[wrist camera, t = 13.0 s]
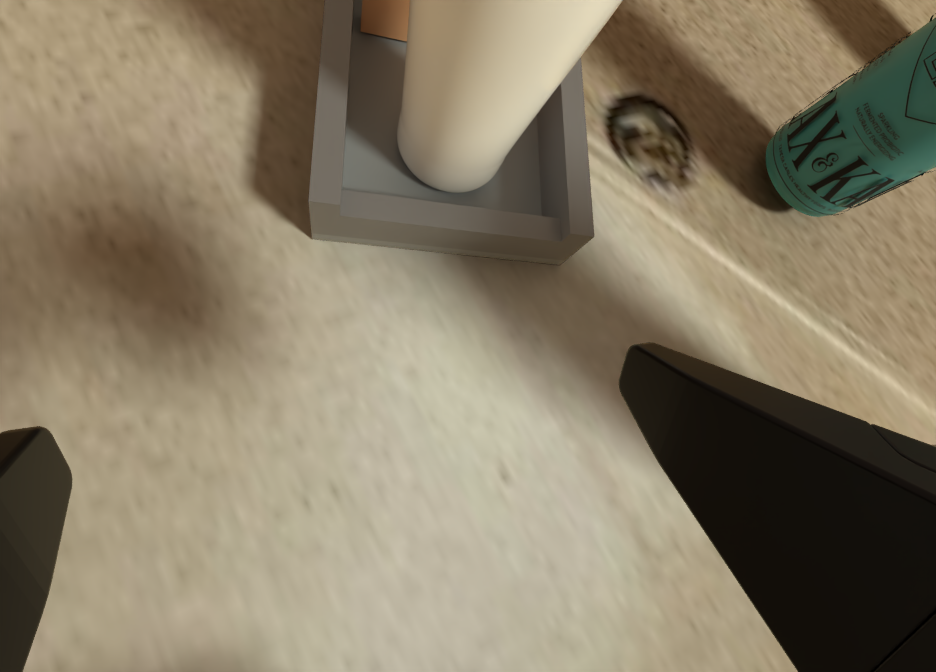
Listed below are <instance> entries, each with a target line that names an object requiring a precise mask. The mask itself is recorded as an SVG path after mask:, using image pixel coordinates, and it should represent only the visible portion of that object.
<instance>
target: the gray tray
mask: <svg viewBox="0 0 936 672" xmlns="http://www.w3.org/2000/svg"><path fill="white" fill-rule="evenodd" d="M361 13H362V0H325V4H324V16H323V28H322V41H321V53H320V65H319V77H318V90H317V102H316V114H315V127H314V139H313V151H312V163H311V176H310V188H309V200H308V202H309V212H310V223H311V234H312V239H317V240H326V241H336V242H345V243H355V244H364V245H374V246H384V247H393V248H403V249H412V250H422V251H431V252H441V253H450V254H460V255H469V256H479V257H488V258H498V259H507V260H517V261H526V262H536V263H545V264H555V265H561V264H562V263H563V262H564V261H566V260H567V259H568V258H569V257H570V256H572V255H573V254H574V253H575V252H576V251H578V250H579V249H580V248H581V247H582V246H584V245H585V244H586V243H587V242H588V241H590V240H591V239H592V238H593V237H594V226H593V212H592V199H591V186H590V172H589V159H588V146H587V132H586V119H585V106H584V92H583V79H582V66H581V57H580V59H579V60H578V61H577V62H576V64H575V65H574V66H573V68H572V69H571V70H570V72H569V73H568V74H567V76H566V77H565V78H564V80H563V81H562V82H561V83H560V85H559V86H558V87H557V89H556V90H555V91H554V93H553V94H552V95H551V97H550V98H549V99H548V101H547V102H546V103H545V105H544V106H543V107H542V109H541V110H540V111H539V113H538V114H537V115H536V117H535V118H534V119H533V121H532V122H531V123H530V125H529V126H528V127H527V128H526V130H525V131H524V133H523V134H522V135H521V137H520V138H519V139H518V141H517V142H516V143H515V145H514V146H513V147H512V149H511V150H510V152H509V153H508V154H507V156H506V158H505V159H504V161H503V163H502V164H501V166H500V168H499V170H498V171H497V173H496V174H495V175H494V177H493V178H492V179H491V180H490V181H489V182H488V183H486V184H485V185H483V186H482V187H480V188H478V189H476V190H473V191H469V192H464V193H450V192H444V191H440V190H437V189H435V188H432V187H430V186H428V185H427V184H425V183H423V182H422V181H421V180H419V179H418V178H417V177H416V176H415V175H414V174H413V173H412V172H411V171H410V170H409V168H408V167H407V166H406V164H405V162H404V161H403V159H402V157H401V154H400V151H399V148H398V143H397V127H398V121H399V115H400V110H401V104H402V93H403V81H404V69H405V56H406V43H407V42H406V41H402V40H397V39H392V38H388V37H383V36H379V35H374V34H369V33H365V32H360V30H361Z"/></svg>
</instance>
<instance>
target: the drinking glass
mask: <svg viewBox="0 0 936 672" xmlns="http://www.w3.org/2000/svg"><path fill="white" fill-rule="evenodd" d="M622 1H623V0H410V2H409V16H408V30H407V43H406V56H405V69H404V81H403V93H402V104H401V110H400V115H399V121H398V127H397V143H398V148H399V151H400V154H401V157H402V159H403V161H404V162H405V164H406V166H407V167H408V168H409V170H410V171H411V172H412V173H413V174H414V175H415V176H416V177H417V178H418V179H419V180H421V181H422V182H423V183H425V184H427V185H428V186H430V187H432V188H435V189H437V190H440V191H444V192H450V193H464V192H469V191H473V190H476V189H478V188H480V187H482V186H483V185H485V184H486V183H488V182H489V181H490V180H491V179H492V178H493V177H494V175H495V174H496V173H497V171H498V170H499V168H500V166H501V164H502V163H503V161H504V159H505V158H506V156H507V154H508V153H509V152H510V150H511V149H512V147H513V146H514V145H515V143H516V142H517V141H518V139H519V138H520V137H521V135H522V134H523V133H524V131H525V130H526V128H527V127H528V126H529V125H530V123H531V122H532V121H533V119H534V118H535V117H536V115H537V114H538V113H539V111H540V110H541V109H542V107H543V106H544V105H545V103H546V102H547V101H548V99H549V98H550V97H551V95H552V94H553V93H554V91H555V90H556V89H557V87H558V86H559V85H560V83H561V82H562V81H563V80H564V78H565V77H566V76H567V74H568V73H569V72H570V70H571V69H572V68H573V66H574V65H575V64H576V62H577V61H578V60H579V59H580V57H581V56H582V55H583V53H584V52H585V51H586V49H587V48H588V47H589V45H590V44H591V43H592V42H593V40H594V39H595V38H596V36H597V35H598V34H599V32H600V31H601V30H602V28H603V27H604V26H605V24H606V23H607V22H608V20H609V19H610V18H611V16H612V15H613V13H614V12H615V11H616V9H617V8H618V6H619V5H620V4H621V2H622Z"/></svg>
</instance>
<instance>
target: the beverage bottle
mask: <svg viewBox="0 0 936 672" xmlns="http://www.w3.org/2000/svg"><path fill="white" fill-rule="evenodd" d="M935 14H936V13H935ZM933 16H934V15H933ZM933 16H932V17H933ZM932 17H931V19H930V22H929V23H927V24H926V25H925V26H923V27H922V28H920V29H919V30H918V31H916V32H915V33H913V34H912V35H911V36H908V38H907V36H906V39H905V40H904V41H902V42H901V41H899V40H898V41H899V42H898V43H899V44H898V45H897V46H894V45H895V44H896V43H894V45H893V46H894V48H891V47H890V48H891V50H890V51H888V52H887V50H888V48H887V49H886V50H885V52H884V55H883V56H881V55H878V56H877V57H879V58H876V60H875V61H874V62H873V61H871V62H873V63H871V62H868V63H870V65H869V66H867V67H866V68H864V69H862V71H860V72H859V73H858V72H857V73H856V74H854V73H853V75H855V76H853V75H851V76H853V77H852V78H850V79H849V80H848V81H846V82H845V83H843V84H842V85H841V86H839V87H838V88H836V87H835V86H834V87H835V88H836V89H835V88H834V87H833V88H834V89H835V90H834V91H833V90H831V89H832V88H831V89H830V90H831V91H830V92H828V91H827V92H828V93H829V94H828V93H827V92H826V93H827V94H828V95H827V96H825V95H824V94H823V95H824V96H825V97H824V98H823V99H821V100H820V101H818V102H817V103H816V104H814V105H813V106H811V107H810V108H808V109H807V110H806V111H804V112H803V113H799V112H798V113H799V114H800V115H799V116H797V117H795V116H796V115H794V117H795V118H794V117H793V118H792V120H791V119H790V120H791V121H790V122H789V123H788V124H786V123H787V121H786V122H784V123H785V124H786V125H785V124H784V125H783V127H782V128H781V129H780V130H779V131H778V130H777V131H778V132H776V134H775V135H774V136H773V137H772V139H771V140H770V142H769V144H768V146H767V149H766V167H767V171H768V174H769V177H770V179H771V182H772V183H773V185H774V187H775V189H776V190H777V192H778V193H779V194H780V196H781V197H782V198H783V199H784V200H785V201H786V202H787V203H788V204H789V205H790V206H792V207H793V208H795V209H796V210H798V211H800V212H802V213H804V214H807V215H810V216H816V217H820V216H827V215H832V214H835V213H838V212H840V211H842V210H844V209H846V208H852V207H851V206H853V205H855V204H857V203H859V202H860V203H861V201H864V200H866V199H868V198H869V199H868V200H867V201H865V202H863V203H861V204H859V205H858V204H857V205H856V206H854V207H857V206H860V205H862V204H864V203H866V202H868V201H870V200H872V199H874V198H876V197H878V196H881V195H883V194H885V193H887V192H889V191H891V190H894V189H896V188H898V187H900V186H902V185H904V184H907V183H909V182H911V181H909V180H911V179H913V178H916V177H918V176H920V175H921V176H922V175H923V174H924V173H926V171H928V170H930V169H932V168H934V167H936V18H934V19H933V20H932ZM908 34H909V33H908ZM906 35H907V34H906ZM902 38H905V37H902ZM902 38H901V40H902ZM896 42H897V41H896ZM900 42H901V43H900ZM893 46H892V47H893ZM882 53H883V52H882ZM882 53H880V54H882ZM874 59H875V58H874ZM872 60H873V59H872ZM866 64H867V63H866ZM864 67H865V66H864ZM861 68H862V67H861ZM861 68H859V70H860V69H861ZM859 70H856V71H859ZM856 71H855V72H856ZM851 76H849V77H851ZM849 77H848V78H849ZM846 79H847V78H846ZM846 79H845V80H846ZM841 82H843V81H841ZM838 84H839V83H838ZM838 84H837V85H838ZM820 97H821V96H820ZM820 97H819V98H820ZM821 98H822V97H821ZM816 100H817V99H816ZM816 100H815V101H816ZM813 102H814V101H813ZM813 102H812V103H813ZM809 105H810V104H809ZM809 105H808V106H809ZM805 108H806V107H805ZM802 110H803V109H802ZM802 110H801V111H802ZM798 113H797V115H798ZM779 128H780V127H779ZM779 128H778V129H779ZM930 172H933V171H930ZM927 173H929V172H927ZM913 181H914V180H913ZM905 182H906V183H905ZM903 183H904V184H903ZM900 184H902V185H900ZM898 185H900V186H898ZM896 186H897V187H896ZM894 187H895V188H894ZM892 188H893V189H892ZM890 189H891V190H890ZM887 190H889V191H887ZM885 191H887V192H885ZM883 192H885V193H883ZM881 193H882V194H881ZM879 194H880V195H879ZM877 195H878V196H877ZM874 196H876V197H874ZM872 197H874V198H872ZM870 198H872V199H870ZM847 211H848V210H847ZM844 212H845V211H844ZM841 214H842V213H841ZM836 215H839V214H836Z"/></svg>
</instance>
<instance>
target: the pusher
mask: <svg viewBox="0 0 936 672" xmlns="http://www.w3.org/2000/svg"><path fill="white" fill-rule="evenodd" d="M409 2H410V0H362V13H361V30H360V32H365V33H369V34H374V35H379V36H383V37H388V38H392V39H397V40H402V41H406V42H407V30H408V16H409Z"/></svg>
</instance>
